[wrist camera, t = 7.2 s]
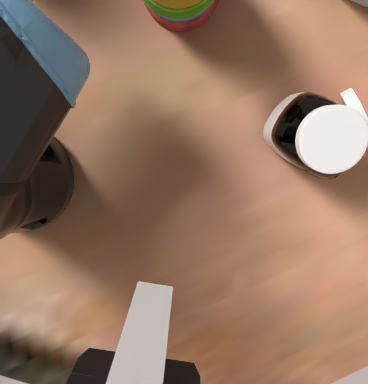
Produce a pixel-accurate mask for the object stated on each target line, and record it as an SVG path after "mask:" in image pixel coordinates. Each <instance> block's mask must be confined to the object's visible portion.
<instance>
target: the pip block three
mask: <svg viewBox="0 0 368 384" xmlns="http://www.w3.org/2000/svg"><path fill="white" fill-rule="evenodd" d="M350 1H352V2H355V3H357V4H360V5H362V6H364V7H367V8H368V0H350Z"/></svg>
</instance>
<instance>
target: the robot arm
mask: <svg viewBox="0 0 368 384" xmlns="http://www.w3.org/2000/svg"><path fill="white" fill-rule="evenodd" d="M89 72H90V63H89V59H88V57H87V55H86V53H85V52H84V51H83V49H82V48H81V47H80V46H79V45H78V44H77V43H76V42H75V41H74V40H72V39H71V38H70V37H69V36H68V35H67V34H66V33H65V32H64V31H63V30H62V29H61V28H59V27H58V26H57V25H56V24H55V23H54V22H53V21H52V20H51V19H50V18H48V17H47V16H46V15H45V14H44V13H43V12H42V11H41V10H39V9H38V8H37V7H36V6H35V5H34V4H33V3H32V2H30V1H29V0H0V239H2V238H3V237H5V236H6V235H8V234H9V233H15V232H25V231H31V230H35V229H38V228H40V227H42V226H44V225H46V224H48V223H49V222H51V221H52V220H53V219H55V218H56V217H57V216H58V215H59V214H60V213H61V212H62V211H63V210H64V209H65V207H66V206H67V204H68V202H69V200H70V198H71V195H72V191H73V185H74V176H73V169H72V165H71V162H70V160H69V157H68V155H67V153H66V151H65V150H64V148H63V147H62V146H61V144H60V143H59V142H58V141H57V140H56V139H55V138H54V135H55V133H56V132H57V130H58V128H59V127H60V125H61V123H62V122H63V120H64V118H65V117H66V115H67V113H68V112H69V110H70V108H74V107H75V105H76V102H75V100H76V98H77V97H78V95H79V93H80V91H81V89H82V87H83V86H84V84H85V82H86V80H87V78H88V76H89ZM172 293H173V287H172V286H166V285H159V284H153V283H147V282H141V281H138V283H137V286H136V289H135V292H134V296H133V299H132V302H131V305H130V308H129V311H128V315H127V318H126V321H125V324H124V327H123V331H122V334H121V337H120V340H119V343H118V346H117V350H116V352H113V351H106V350H100V349H93V348H89V349H88V350H86V351H85V352H84V353H83V354H82V355H81V356H80V357H79V358H78V359H77V361H76V364H75V366H74V368H73V370H72V373H71V374H70V377H69V379H68V381H67V383H66V384H200V375H199V373H198V371H197V369H196V367H195V365H194V363H190V362H184V361H177V360H171V359H166V350H167V340H168V331H169V321H170V312H171V302H172Z"/></svg>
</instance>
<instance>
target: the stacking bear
mask: <svg viewBox="0 0 368 384" xmlns="http://www.w3.org/2000/svg"><path fill="white" fill-rule="evenodd" d="M143 1H144V3H145V5H146V7H147V9H148V11H149V12H150V14H151V15H152V17H153V18H154V19H155V20H156V21H157V22H158V23H159V24H160V25H162V26H163V27H165V28H167V29H170V30H174V31H187V30H191V29H194V28H196V27H198V26H200V25H201V24H202V23H203V22H205V21H206V20H207V18H208V17H209V16H210V15H211V13H212V12H213V10H214V9H215V7H216V5H217V3H218V1H219V0H143Z"/></svg>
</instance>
